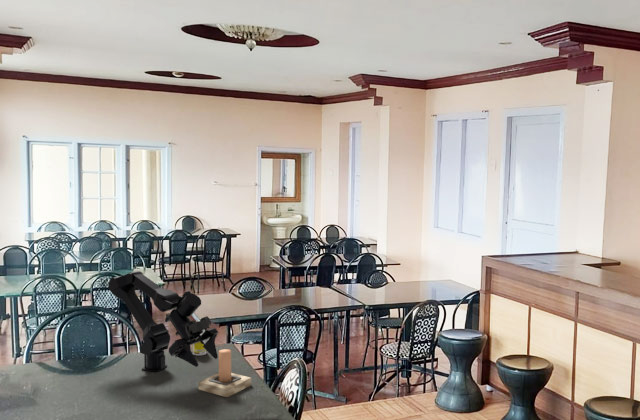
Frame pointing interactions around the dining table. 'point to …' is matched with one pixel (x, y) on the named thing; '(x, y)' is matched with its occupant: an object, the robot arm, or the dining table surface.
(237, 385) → the socket block
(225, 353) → the peg
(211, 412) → the dining table surface
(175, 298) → the robot arm
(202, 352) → the supplement bottle
